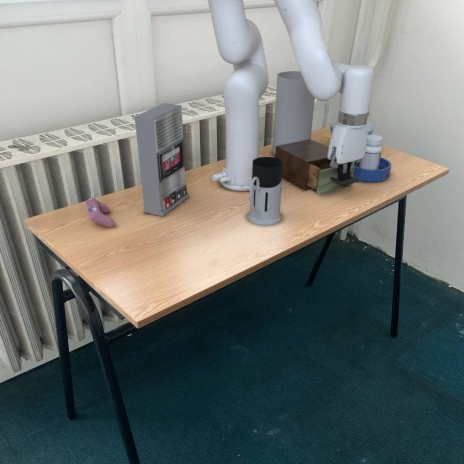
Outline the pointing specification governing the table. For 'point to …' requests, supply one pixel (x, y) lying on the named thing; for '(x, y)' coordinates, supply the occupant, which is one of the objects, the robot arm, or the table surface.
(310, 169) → the drawer
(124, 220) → the table surface
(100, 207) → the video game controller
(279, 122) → the cylinder vase
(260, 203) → the glass holder
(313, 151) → the cabinet
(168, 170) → the cassette tape recorder
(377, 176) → the bowl
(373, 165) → the pill bottle
